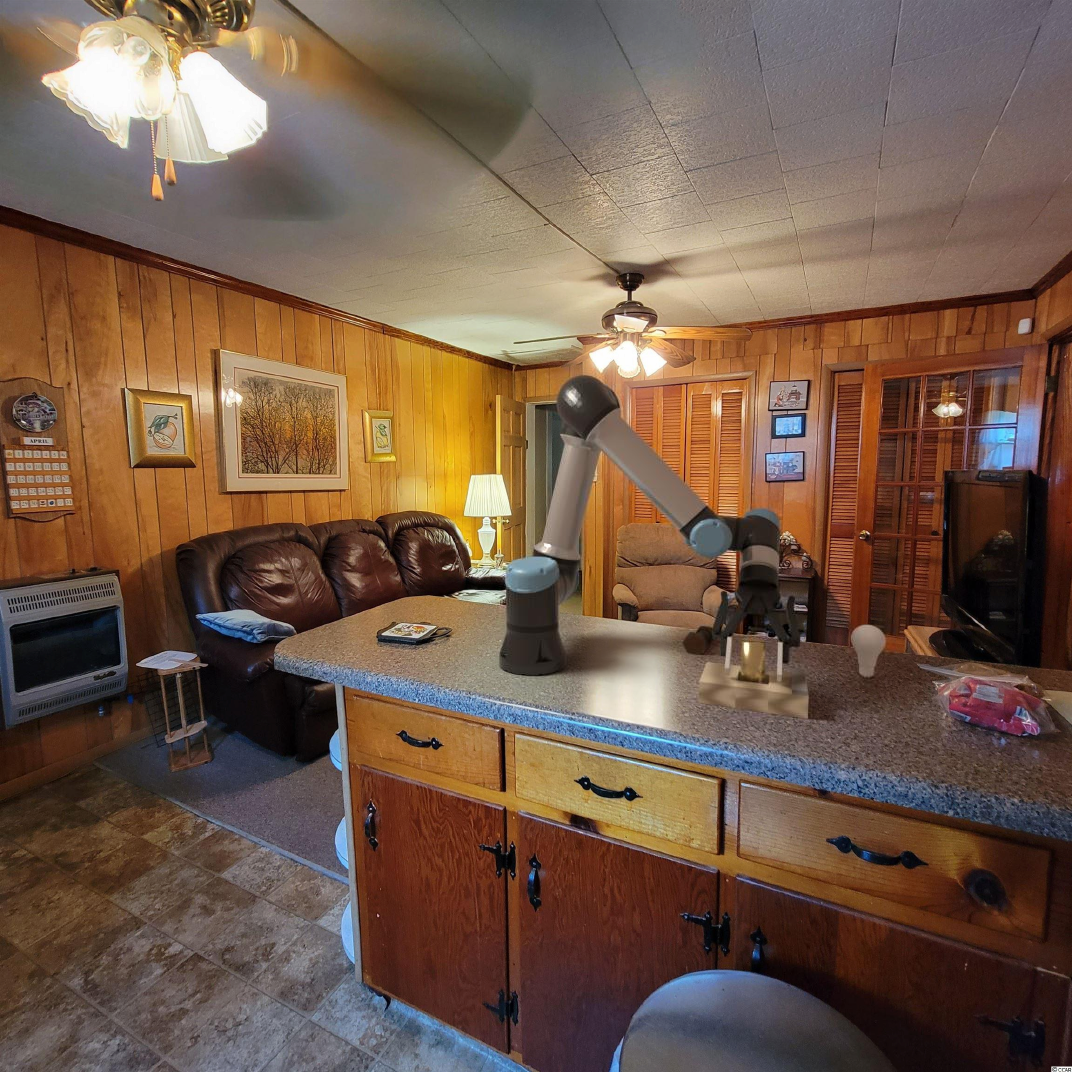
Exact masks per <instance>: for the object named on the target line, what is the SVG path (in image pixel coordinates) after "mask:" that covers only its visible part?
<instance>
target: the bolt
mask: <svg viewBox="0 0 1072 1072" xmlns="http://www.w3.org/2000/svg"><path fill="white" fill-rule="evenodd" d="M712 628H713V627H711V626H707V625H700V626H699V627H698V628H697V630H696V631H694V632H693V631H689V632H688V633H687V635H685V637H684V639H683V641H682V645H683V647H684V649H685V651H686V653H687V654H691V655H698V656H699V655H700V656H701V655H702V654H704V652H705V650H706V649H707V648H708V646H709V645H711V644H712V642H713V641H714V638H713V634H712Z"/></svg>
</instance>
